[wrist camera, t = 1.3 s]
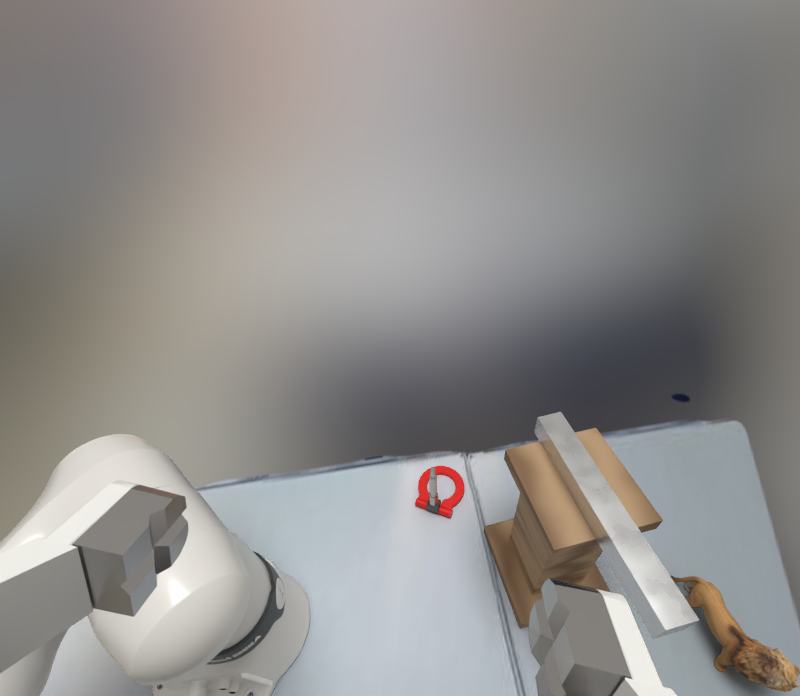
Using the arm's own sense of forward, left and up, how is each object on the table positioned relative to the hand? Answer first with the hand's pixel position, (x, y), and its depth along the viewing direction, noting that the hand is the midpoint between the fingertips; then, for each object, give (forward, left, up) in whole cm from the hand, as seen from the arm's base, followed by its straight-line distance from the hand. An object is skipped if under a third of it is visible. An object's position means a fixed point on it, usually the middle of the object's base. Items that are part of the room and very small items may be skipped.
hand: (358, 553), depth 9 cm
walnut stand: (+22, +15, -60) cm, 65 cm away
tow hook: (+9, +31, -60) cm, 68 cm away
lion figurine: (+40, +1, -60) cm, 72 cm away
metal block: (+22, +11, -34) cm, 41 cm away
